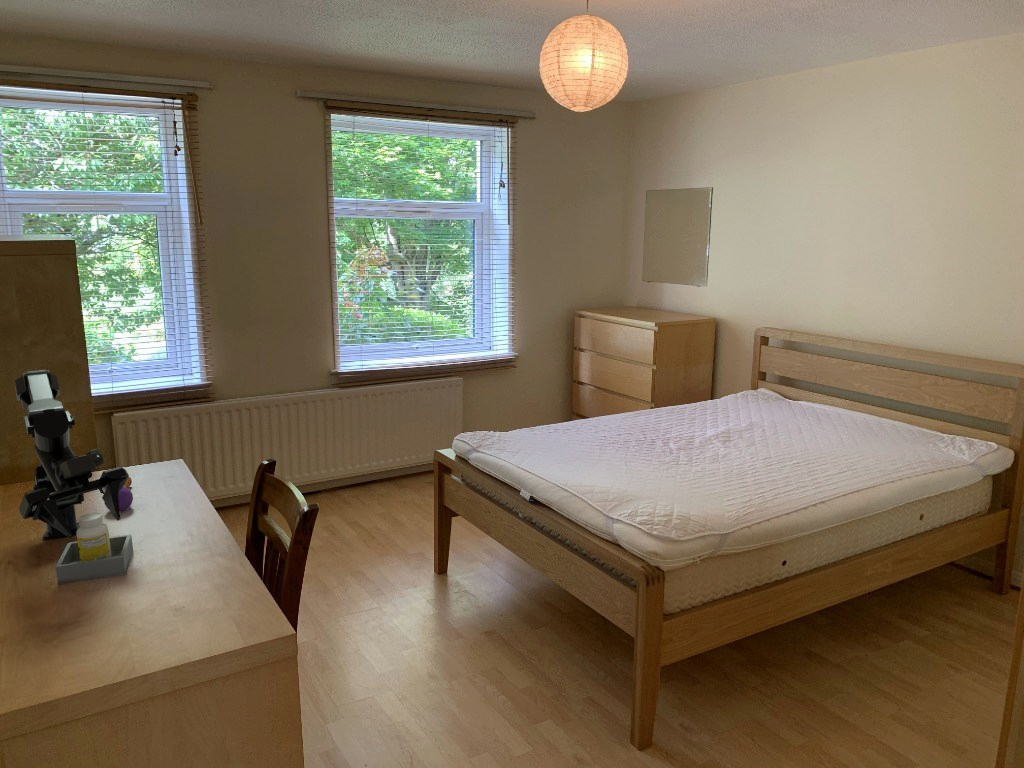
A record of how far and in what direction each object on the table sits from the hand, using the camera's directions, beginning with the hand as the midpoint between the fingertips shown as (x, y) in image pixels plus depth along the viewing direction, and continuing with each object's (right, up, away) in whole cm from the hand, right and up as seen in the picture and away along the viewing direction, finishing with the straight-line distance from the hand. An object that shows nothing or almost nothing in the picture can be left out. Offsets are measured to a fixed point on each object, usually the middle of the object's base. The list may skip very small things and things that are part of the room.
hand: (95, 527), depth 145 cm
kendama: (-14, -1, +38) cm, 40 cm away
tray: (-1, -8, +3) cm, 9 cm away
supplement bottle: (-1, -8, +3) cm, 8 cm away
